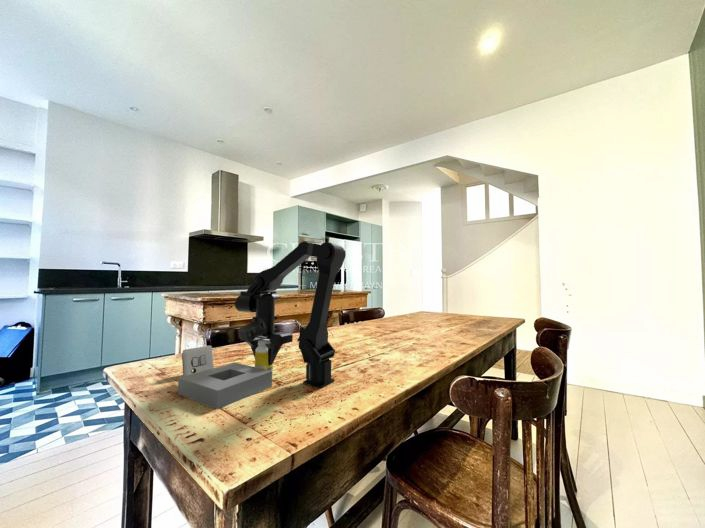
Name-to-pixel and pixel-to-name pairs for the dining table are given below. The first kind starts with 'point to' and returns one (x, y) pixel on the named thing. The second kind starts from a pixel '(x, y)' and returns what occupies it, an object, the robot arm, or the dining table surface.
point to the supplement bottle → (262, 355)
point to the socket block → (224, 384)
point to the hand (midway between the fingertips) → (264, 363)
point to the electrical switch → (197, 360)
